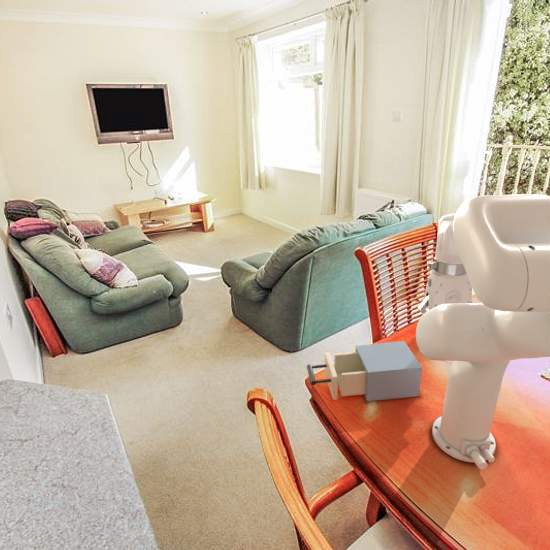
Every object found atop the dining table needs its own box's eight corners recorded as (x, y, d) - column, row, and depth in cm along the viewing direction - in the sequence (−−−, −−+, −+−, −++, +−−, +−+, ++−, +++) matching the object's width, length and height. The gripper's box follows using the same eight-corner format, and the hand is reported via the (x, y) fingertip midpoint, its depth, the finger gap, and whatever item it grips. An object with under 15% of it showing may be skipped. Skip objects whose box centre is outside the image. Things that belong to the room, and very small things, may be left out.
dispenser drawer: (312, 402, 95) (311, 379, 92) (306, 375, 104) (305, 354, 101) (381, 395, 95) (382, 372, 93) (368, 369, 105) (369, 348, 102)
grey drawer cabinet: (366, 401, 95) (368, 372, 91) (354, 372, 106) (355, 345, 102) (419, 396, 96) (422, 367, 92) (401, 367, 106) (404, 340, 103)
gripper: (423, 274, 86) (416, 342, 93) (494, 269, 87) (482, 337, 94) (410, 263, 93) (405, 327, 100) (476, 258, 94) (466, 322, 101)
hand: (442, 331), depth 97 cm, fingers closed on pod, 4 cm apart
